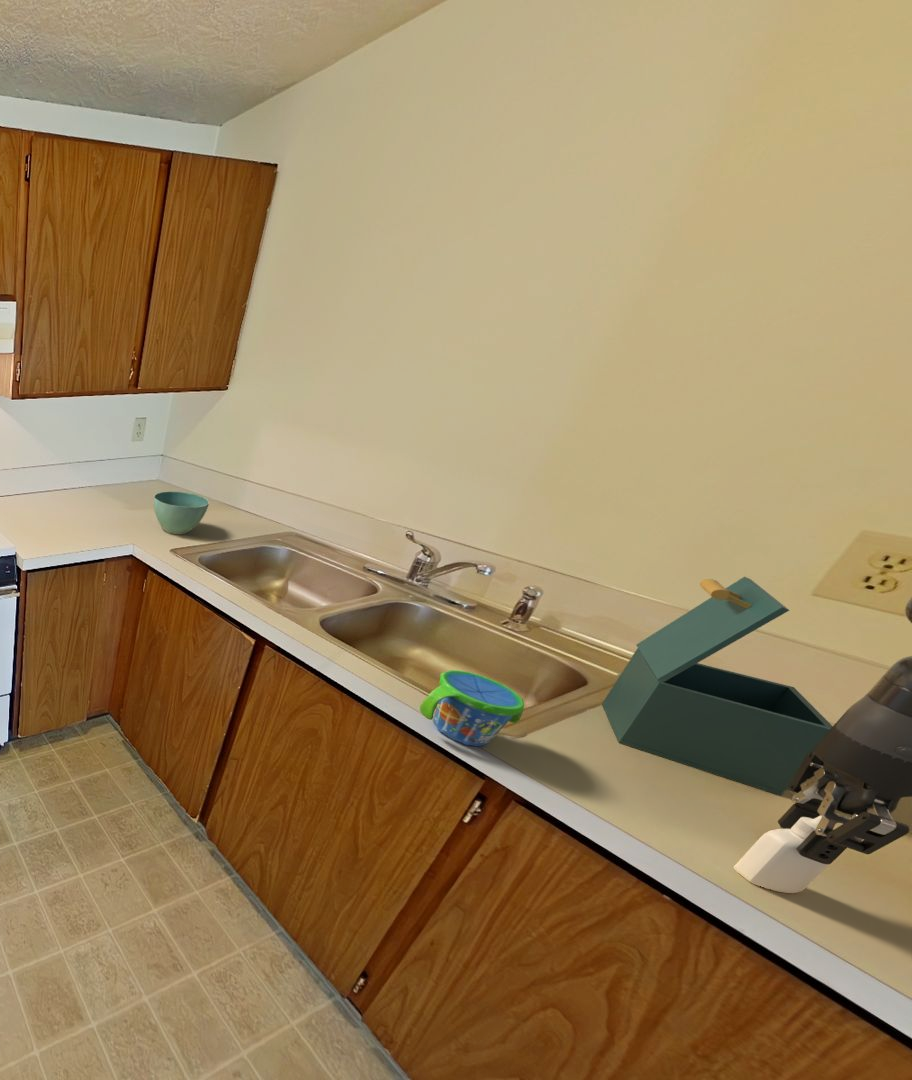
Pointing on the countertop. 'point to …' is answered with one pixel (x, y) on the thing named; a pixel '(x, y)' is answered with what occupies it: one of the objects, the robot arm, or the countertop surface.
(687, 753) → the chest
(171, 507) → the green bowl
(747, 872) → the eye dropper bottle
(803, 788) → the robot arm
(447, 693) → the snack cup
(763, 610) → the lid
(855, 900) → the countertop surface
